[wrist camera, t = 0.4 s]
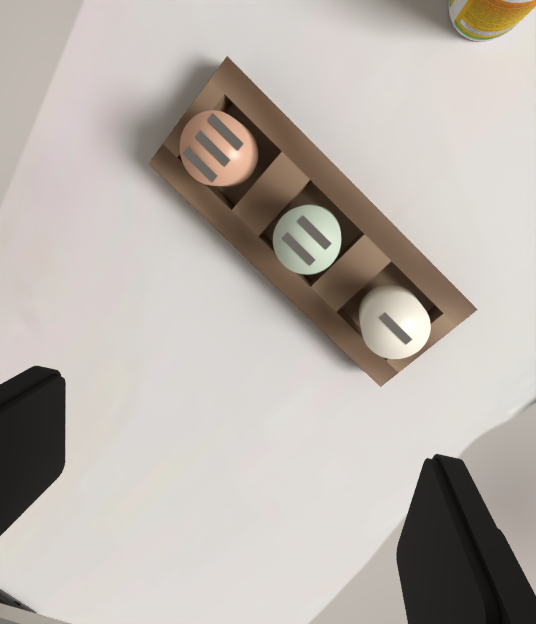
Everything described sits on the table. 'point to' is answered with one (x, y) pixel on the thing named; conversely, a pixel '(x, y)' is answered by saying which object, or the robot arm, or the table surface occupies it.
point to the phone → (9, 600)
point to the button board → (302, 191)
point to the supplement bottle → (487, 17)
